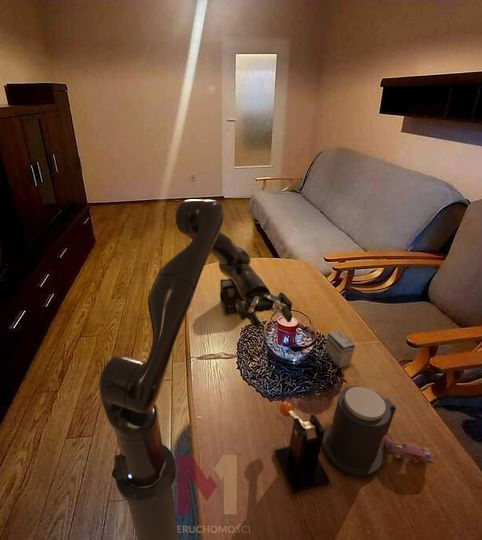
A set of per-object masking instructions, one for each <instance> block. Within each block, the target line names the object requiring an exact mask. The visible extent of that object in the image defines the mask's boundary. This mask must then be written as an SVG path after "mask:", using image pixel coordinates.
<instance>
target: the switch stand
mask: <svg viewBox="0 0 482 540" xmlns="http://www.w3.org/2000/svg"><path fill="white" fill-rule="evenodd" d="M308 421H309V422H310V423H312V424H313V425H314V426H315V430H316V438H312V439H308V440H307V436H308V435H307V433H306V432H305V430H304V428H303V426H302V424H301V422H300V421H299V419H298V418H296V419H294V420H293V423H292V429H291V436H290V441H289V446H287V447H282V448H278V449H275V451H274V454H275V457H276V458H277V461H278V463H279V465H280V467H281V470H282V472H283V475H284V477H285V479H286V481H287V484H288V486H289V488H290V491H291V493H292V495H295V494H298V493H301V492H305V491H309V490H312V489H315V488H318V487H322V486H326V485H329V484H330V482H331V481H330V479H329V476H328V475H327V473H326V470H325V469H324V467H323V466H322V464H321V462H320V459H319V458H320V453H321V450H322V441H323V436H324V432H325V431H324V430H325V429H324V427H323V425H322V424H321V422H320V421H319V419H318V418H317V415H315V413H314V414H310V416H309V420H308Z"/></svg>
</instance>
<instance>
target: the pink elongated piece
mask: <svg viewBox="0 0 482 540" xmlns="http://www.w3.org/2000/svg"><path fill="white" fill-rule="evenodd" d="M384 446H385V449H386V450H387V451H388V454H390V455H393V456H394V458H396V459H407V456H409V460H410V461H412V462H413V463H426V464H434V463H435V458H434V457H435V456H434V453H433V451H431V450H430V449H429V448H428V447H427V446H419V445H418V444H415V443H413V442H400V441H393V440H391V438H389V437H387V438H386V439H385V441H384Z"/></svg>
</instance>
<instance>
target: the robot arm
mask: <svg viewBox="0 0 482 540" xmlns="http://www.w3.org/2000/svg"><path fill="white" fill-rule="evenodd" d="M224 221H225V210H224V206H223V204H222V203H220V202H219V201H217V200H212V199H186V200H183V201H181V202H180V203H179V204H178V206H177V208H176V211H175V225H176V227H177V229H178V230H179V233H181V234H182V235H183V236H185V237H187V238H188V239H190V240H191V241H190V242H189V244H188V245H187V246H186V247H185V248H183V249H182V250H181V251H179V252H178V253H177V254H176V255H174V256H173V257H172V258H171V259H169V260H168V261H167V262H166V263H165V264H164V265H163V266H162V267H161V268H160V270H159V271H158V273H157V275H156V277H155V279H154V281H153V283H152V286H151V288H150V291H149V293H148V296H147V307H148V313H149V318H150V323H151V329H152V343H151V347H150V351H149V355H148V356H147V359H146V361H145V360H141V359H137V358H134V357H130V356H126V355H123V354H122V355H121V354H120V355H115V356H113V357H112V358H111V359H109V361H107V362H106V364H105V365H104V367H103V369H102V372H101V374H100V377H99V378H100V379H99V396H100V400H101V404H102V406H103V409H104V413H105V415H106V418H107V421H108V423H109V424H110V426H111V427H112V428H113V429H114V432H115V437H116V440H117V444H118V449H119V454H117V455H114V467H113V469H112V471H111V476H112V477H113V479H116V480H117V481H120V480H122V479H125V483H126V486H127V487H128V486H132V487H134V488H137V489H148V488H151V487H153V486H154V485H156V484H157V483H158V482H159V481H160V480H161V479H162V477H163V475H164V473H165V468H166V461H165V459H164V453H163V446H162V444H163V440H162V433H161V425H160V419H159V411H158V407H157V405H156V402H157V401H158V399H159V396H160V393H161V391H162V388H163V385H164V382H165V378H166V376H167V375H166V374H167V371H168V368H169V364H170V361H171V358H172V354H173V351H174V348H175V344H176V341H177V338H178V336H179V333H180V330H181V328H182V325H183V323H184V320H185V318H186V315H187V313H188V311H189V309H190V306H191V303H192V300H193V299H194V295H195V293H196V290H197V286H198V284H199V281H200V278H201V275H202V273H203V270H204V267H205V265H206V263H207V260H208V259H209V256H210V254H211V255H212V256H213V257H214V258H215V259H216V260H217V261H218V268H219V270H220V272H221V273H222V274H223V275H224V276H225V277H227V279H229V278H230V279H232V280H233V282H234V283H235V285H236V286H237V289H238V292H239V293H240V295H241V296H242V298H243V300H244V301H241V300H240V299H237V300H236V309H237V311H238V313H237V314H238V316H239V318H240V320H241V321H242V320H245V319H247V320H249V322H250V324H251V325H252V326H253V327H255V329H257V328H260V319H259V318H258V316H257V312H258V313H263V312H270V311H271V312H274V313H279V314H281V316H282V317H283V318H284V319H285V321H286V322H287V323H291V322H292V320H293V313H292V307H293V302H292V301H291V300H290V299H289V297H288V296H287V295H286V294H285V293H284V292H279V293H278V295H274V294H272V293H271V292H270V289H269V288H268V287H267V285H266V283H265V282H264V280H262V279H261V276H259V275H258V274H257V273H256V271H255V270H254V269H253V267H252V266H251V265H250V264H251V256H250V254H249V253H248V252H247V250H246V249H244V248H242V247H240V246H238V245H236V244H235V243H234V242H233V240H232V239H231V237H229V236H228V235H226V234H225V233H223V232H221V231H222V229H223V226H224ZM244 306H246V307H248V308H249V310H248V311H245V309H244ZM116 480H115V481H116Z"/></svg>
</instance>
